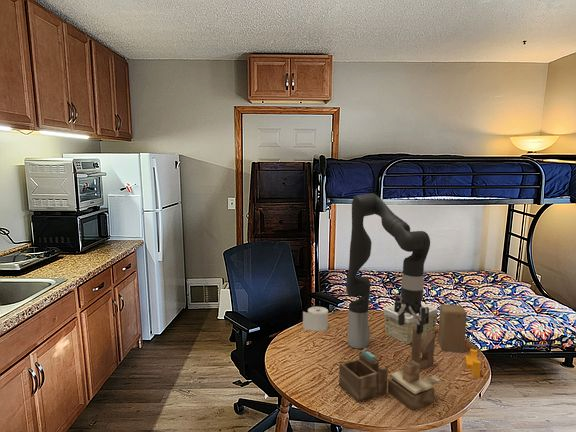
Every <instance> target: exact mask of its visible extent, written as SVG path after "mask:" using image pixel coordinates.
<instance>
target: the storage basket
mask: <svg viewBox="0 0 576 432" xmlns="http://www.w3.org/2000/svg"><path fill="white" fill-rule="evenodd" d="M421 305H422V307H428V308H429V323H428V324H425V325H423V333H422V338H421V341H423V339H424V338H425V336H426V335H427V333H428V332H430V333H433V334H435V333H436V325H437V318H438V308H437V307H435V306H432V305H430V304H427V303H424V302H423V301H422V302H421ZM402 306H403V305H402ZM394 307H395V304H393V305H390V306H386V307H384V308H383V317H384V328H385V334H386V335H388V336H390V337H391V338H393V339H395V340H397V341H399V342H401V343H403V344H405V345H410V344H412V338H413V328H414V327H417V322H416V320H415V319H414V318H413V315H411V314H409V313H405V314H404V315H405V323H404V325H401V326H400V325H399V323H398V317H399V315H398V313H397V312H395V311H394ZM416 315H419V314H416ZM419 320H420V319H419Z"/></svg>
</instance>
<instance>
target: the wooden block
mask: <svg viewBox="0 0 576 432" xmlns="http://www.w3.org/2000/svg"><path fill="white" fill-rule="evenodd" d="M438 317H439V318H438V332H437V333H438V337H437V342H438V345H439V347H440V350H441V351H443V352H451V353H452V352H453V353H462V354H463V353H464V352H465V345H466V343H465V342H466V333H467V332H466V331H467V317H468V313H467V311H466V310H465V308H464V307H463V306H462V305H459V304H449V303H447V304H446V303H441V304H440V305H439V315H438Z"/></svg>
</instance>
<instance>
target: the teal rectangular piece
mask: <svg viewBox="0 0 576 432" xmlns="http://www.w3.org/2000/svg"><path fill="white" fill-rule="evenodd" d="M361 355H363V356H365V357H366V358H367V359H369V360H370V361H375V358H376V355H374V354H373V353H372V352H370V351H368V348H367V347H365V348H363V349H362V350H361Z"/></svg>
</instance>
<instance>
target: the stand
mask: <svg viewBox="0 0 576 432" xmlns="http://www.w3.org/2000/svg"><path fill="white" fill-rule="evenodd" d="M387 394H389V395H390V396H392V397H393V398H395V399H396V400H397V401H398V402H400V403H401V405H403V406H405V407H406V408H407V409H409V410H410V411H414V410H416V409H419V408H422V407H424V406H427V405H430V404H431V403H434V401H435V388H434V387H433V388H430V389H428V390H425V391H422V392H419V393H417V394H414V393H412V392H411V391H410V390H408V389H407V388H405V387H404V386H403V385H401V384H400V383H398V382H397V381H395V380H394V379H393V378H390V379H387Z"/></svg>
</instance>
